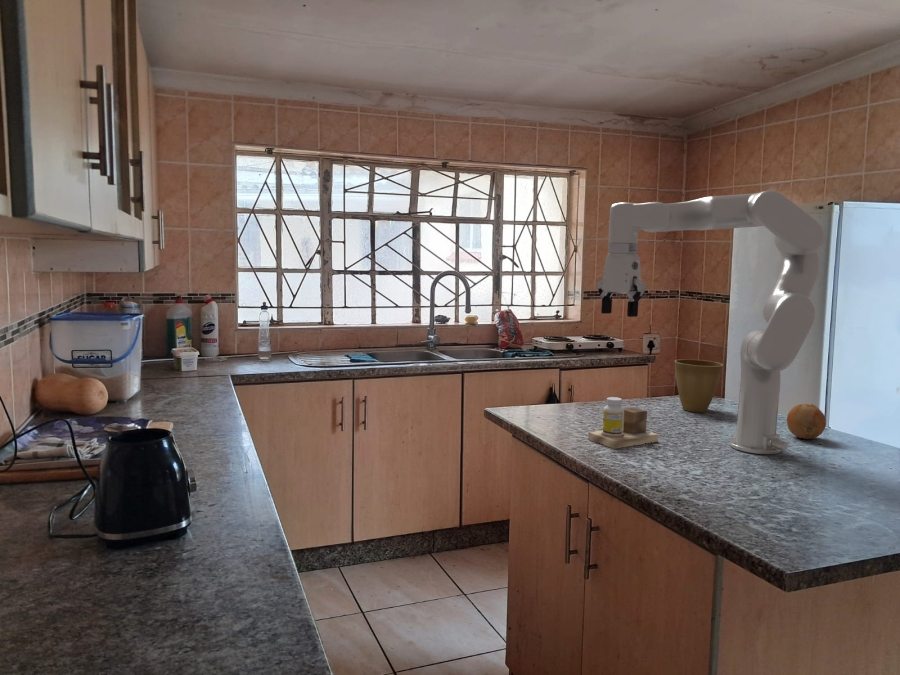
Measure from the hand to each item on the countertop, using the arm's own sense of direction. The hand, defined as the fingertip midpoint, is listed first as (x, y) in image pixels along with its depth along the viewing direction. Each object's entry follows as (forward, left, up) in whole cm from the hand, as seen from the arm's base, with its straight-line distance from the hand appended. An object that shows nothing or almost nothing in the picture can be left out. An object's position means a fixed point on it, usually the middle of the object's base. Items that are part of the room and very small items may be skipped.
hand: (619, 314), depth 179 cm
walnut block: (-2, -6, -32) cm, 33 cm away
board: (-2, -2, -34) cm, 34 cm away
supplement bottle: (-2, +2, -32) cm, 32 cm away
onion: (-23, -51, -34) cm, 66 cm away
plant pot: (+15, -51, -34) cm, 63 cm away
